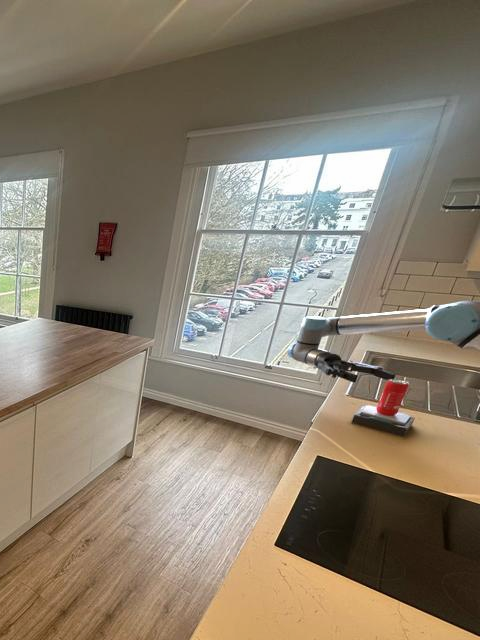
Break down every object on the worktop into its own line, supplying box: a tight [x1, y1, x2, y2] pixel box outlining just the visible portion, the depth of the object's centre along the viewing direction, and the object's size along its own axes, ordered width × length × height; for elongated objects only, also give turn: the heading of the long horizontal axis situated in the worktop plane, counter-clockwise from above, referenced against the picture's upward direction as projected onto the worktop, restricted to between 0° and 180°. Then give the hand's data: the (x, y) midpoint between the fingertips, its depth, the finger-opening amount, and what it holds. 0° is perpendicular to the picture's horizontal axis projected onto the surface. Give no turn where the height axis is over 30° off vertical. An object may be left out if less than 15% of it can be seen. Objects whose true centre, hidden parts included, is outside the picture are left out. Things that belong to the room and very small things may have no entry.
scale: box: [350, 405, 416, 437], centre depth 138 cm, size 13×13×4 cm
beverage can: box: [376, 378, 409, 416], centre depth 136 cm, size 5×5×12 cm
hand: (374, 378), depth 142 cm, fingers open, 13 cm apart
